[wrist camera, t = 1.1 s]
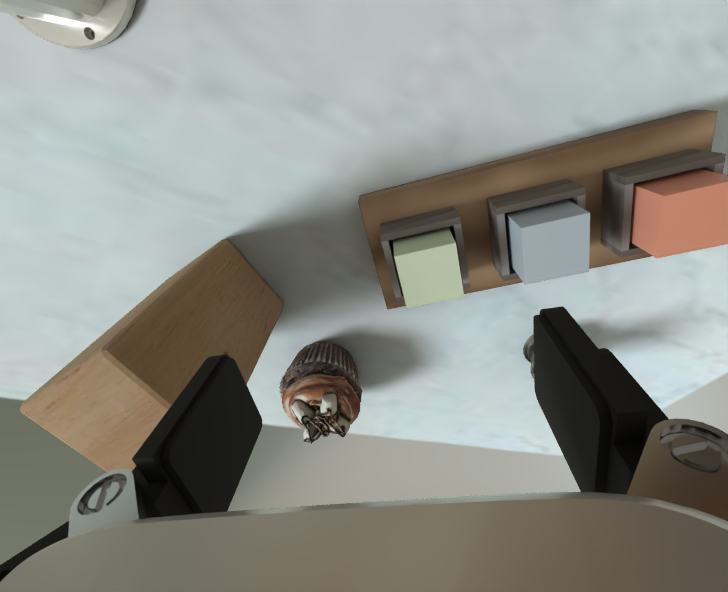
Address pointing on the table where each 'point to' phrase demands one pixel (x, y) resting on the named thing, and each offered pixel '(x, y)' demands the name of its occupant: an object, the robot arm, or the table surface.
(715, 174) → the red key
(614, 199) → the console
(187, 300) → the wooden block
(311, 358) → the cupcake
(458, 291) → the sage key
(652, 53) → the table surface
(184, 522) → the robot arm
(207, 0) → the table surface
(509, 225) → the slate key
